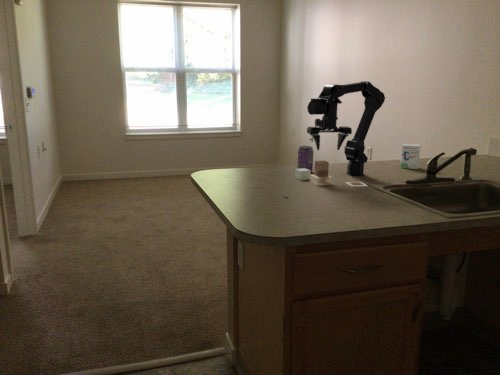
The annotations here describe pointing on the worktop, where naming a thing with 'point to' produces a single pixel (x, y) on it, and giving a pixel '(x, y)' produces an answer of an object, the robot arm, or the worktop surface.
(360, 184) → the swatch
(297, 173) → the sage block
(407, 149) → the ink box
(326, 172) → the walnut block
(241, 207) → the worktop surface
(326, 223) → the worktop surface
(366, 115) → the robot arm
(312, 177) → the beech base
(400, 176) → the worktop surface
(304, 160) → the beverage can
